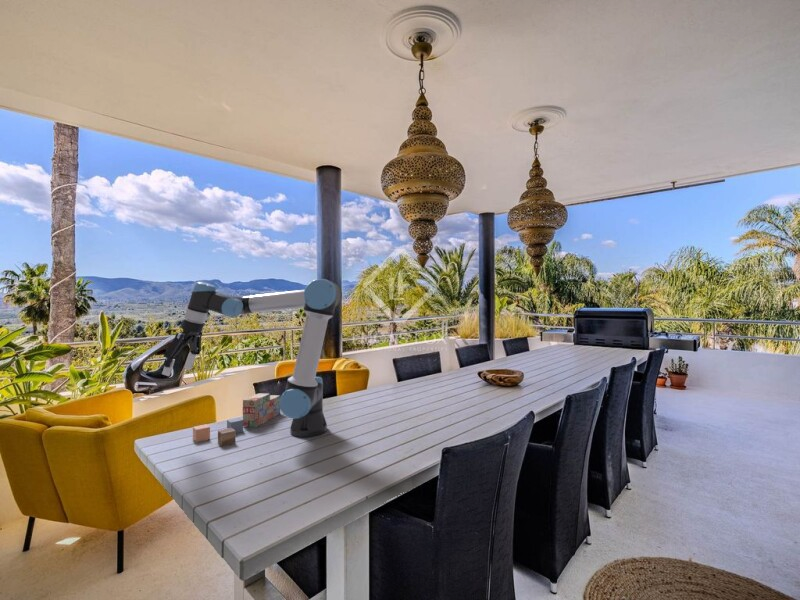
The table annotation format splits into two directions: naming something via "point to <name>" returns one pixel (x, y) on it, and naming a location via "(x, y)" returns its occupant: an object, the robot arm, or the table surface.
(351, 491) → the table surface
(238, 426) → the slate rectangular block
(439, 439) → the table surface
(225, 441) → the walnut cube
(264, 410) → the stack of blocks
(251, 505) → the table surface
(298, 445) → the table surface
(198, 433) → the terracotta cube
